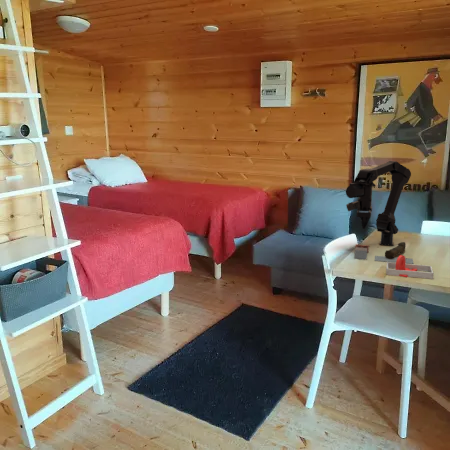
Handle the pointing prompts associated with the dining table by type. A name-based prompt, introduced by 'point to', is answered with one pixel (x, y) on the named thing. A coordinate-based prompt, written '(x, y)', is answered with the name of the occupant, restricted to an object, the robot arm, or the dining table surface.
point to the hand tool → (395, 250)
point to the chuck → (360, 253)
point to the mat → (384, 259)
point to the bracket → (402, 265)
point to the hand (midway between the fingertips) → (363, 228)
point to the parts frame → (410, 273)
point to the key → (362, 246)
